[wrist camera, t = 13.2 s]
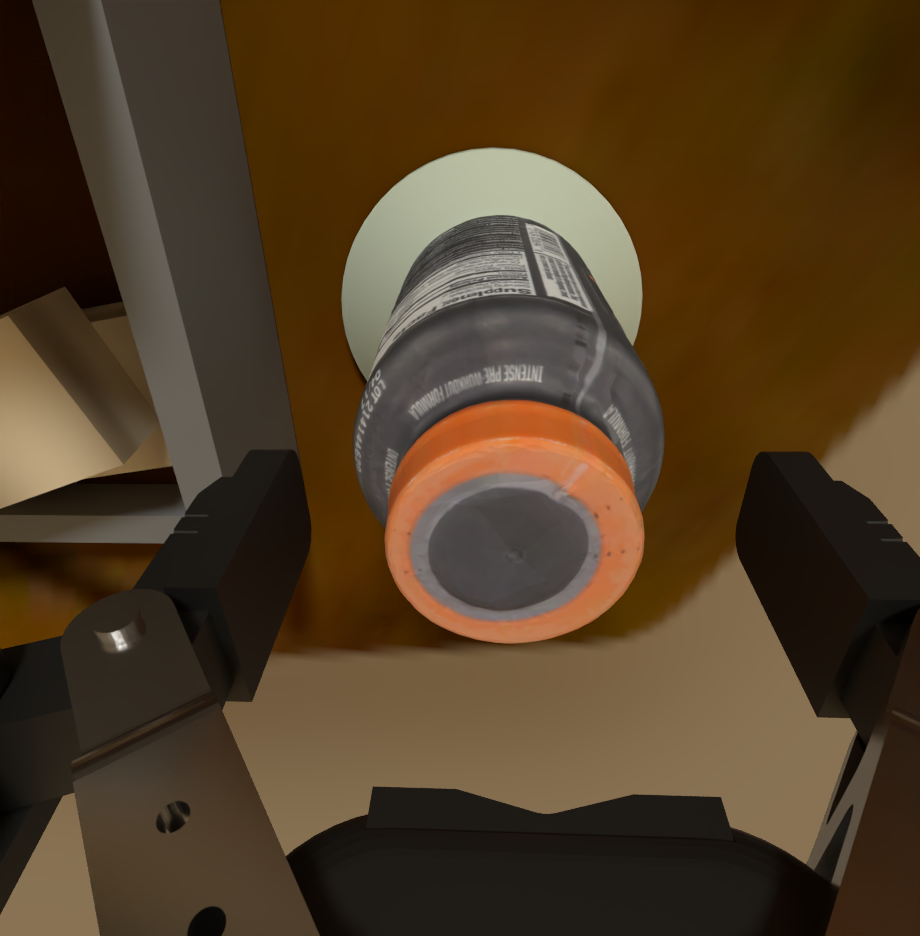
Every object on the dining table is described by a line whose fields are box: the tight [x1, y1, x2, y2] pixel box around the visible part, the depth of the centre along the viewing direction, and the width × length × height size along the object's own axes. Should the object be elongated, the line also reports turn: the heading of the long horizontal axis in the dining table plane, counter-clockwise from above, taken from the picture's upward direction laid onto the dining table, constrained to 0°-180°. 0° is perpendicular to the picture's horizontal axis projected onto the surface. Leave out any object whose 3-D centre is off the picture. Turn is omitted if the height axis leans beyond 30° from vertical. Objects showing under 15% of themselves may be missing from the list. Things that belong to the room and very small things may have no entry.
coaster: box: [342, 147, 642, 382], centre depth 19 cm, size 9×9×1 cm
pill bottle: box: [353, 215, 664, 644], centre depth 14 cm, size 6×6×11 cm
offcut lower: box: [81, 302, 172, 479], centre depth 21 cm, size 13×5×2 cm, turn 100°
